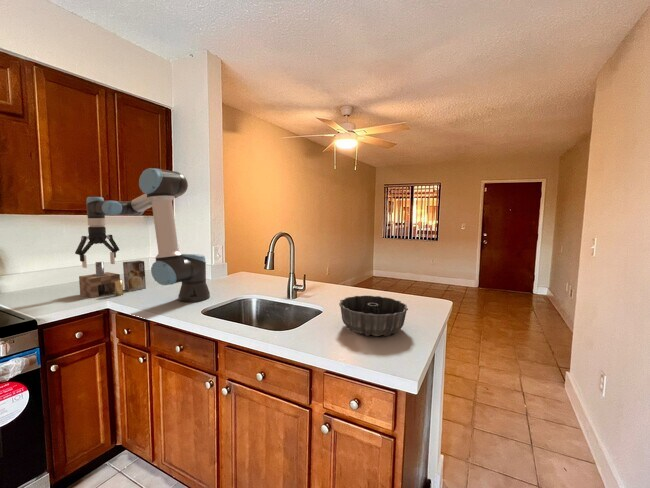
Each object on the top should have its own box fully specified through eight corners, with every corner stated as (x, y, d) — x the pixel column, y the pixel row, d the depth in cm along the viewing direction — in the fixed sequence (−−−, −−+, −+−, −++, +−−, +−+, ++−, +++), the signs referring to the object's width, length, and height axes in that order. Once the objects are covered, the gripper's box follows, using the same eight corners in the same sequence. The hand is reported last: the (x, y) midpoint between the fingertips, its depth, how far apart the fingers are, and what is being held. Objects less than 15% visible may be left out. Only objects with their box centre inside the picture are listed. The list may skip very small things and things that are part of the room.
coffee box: (141, 286, 185) (140, 260, 183) (146, 288, 181) (144, 261, 179) (124, 289, 177) (122, 261, 176) (128, 291, 174) (127, 263, 172)
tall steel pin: (106, 293, 170) (105, 262, 168) (99, 294, 166) (97, 262, 165) (102, 292, 171) (101, 261, 170) (95, 293, 168) (94, 262, 167)
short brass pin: (124, 294, 167) (123, 280, 166) (117, 296, 163) (116, 281, 163) (120, 293, 168) (120, 279, 167) (113, 295, 165) (112, 280, 164)
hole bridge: (120, 292, 172) (119, 274, 171) (92, 297, 160) (90, 278, 159) (108, 289, 178) (107, 272, 177) (80, 294, 165) (78, 276, 164)
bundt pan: (396, 317, 136) (397, 295, 135) (416, 342, 110) (417, 314, 109) (336, 317, 135) (336, 294, 134) (341, 342, 109) (342, 314, 108)
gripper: (117, 225, 178) (119, 262, 180) (65, 226, 156) (68, 268, 158) (125, 225, 174) (127, 263, 176) (72, 227, 153) (75, 269, 155)
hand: (99, 265), depth 167 cm, fingers open, 13 cm apart
